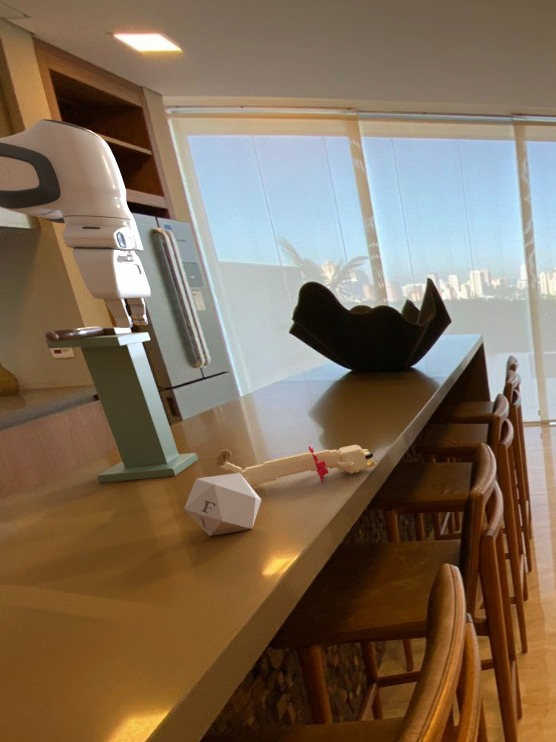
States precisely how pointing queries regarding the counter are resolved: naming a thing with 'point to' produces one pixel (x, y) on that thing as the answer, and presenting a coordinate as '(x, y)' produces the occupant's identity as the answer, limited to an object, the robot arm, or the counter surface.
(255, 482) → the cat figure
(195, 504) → the die
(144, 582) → the counter surface
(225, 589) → the counter surface
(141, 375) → the spoon stand
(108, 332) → the spoon
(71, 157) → the robot arm
